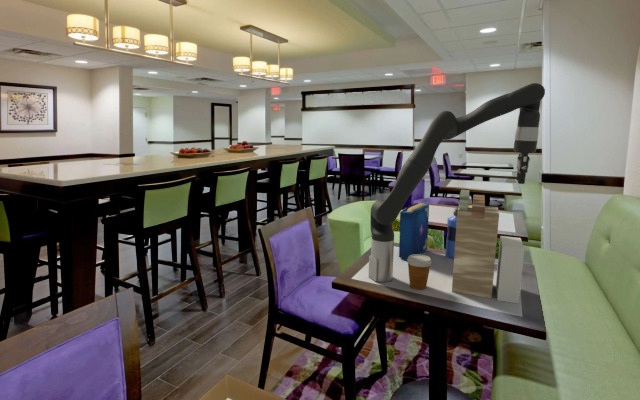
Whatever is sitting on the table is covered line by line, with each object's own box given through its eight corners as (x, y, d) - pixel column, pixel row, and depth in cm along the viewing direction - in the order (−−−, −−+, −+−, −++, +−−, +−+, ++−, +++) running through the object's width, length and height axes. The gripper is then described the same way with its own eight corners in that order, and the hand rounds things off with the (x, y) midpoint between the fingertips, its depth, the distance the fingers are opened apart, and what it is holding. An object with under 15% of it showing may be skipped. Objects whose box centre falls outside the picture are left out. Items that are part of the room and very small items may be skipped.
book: (410, 262, 175) (412, 210, 170) (396, 259, 179) (398, 208, 175) (427, 250, 192) (430, 203, 187) (414, 248, 196) (416, 202, 192)
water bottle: (441, 256, 183) (444, 207, 179) (451, 252, 190) (454, 204, 185) (459, 261, 177) (462, 210, 172) (468, 256, 183) (472, 207, 178)
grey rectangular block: (518, 303, 133) (524, 249, 129) (497, 300, 136) (502, 246, 132) (515, 287, 147) (520, 237, 143) (495, 284, 149) (500, 235, 146)
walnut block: (484, 219, 125) (484, 207, 124) (471, 218, 126) (472, 206, 125) (483, 205, 148) (484, 195, 147) (472, 204, 150) (473, 194, 149)
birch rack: (491, 298, 138) (500, 195, 130) (451, 291, 143) (458, 192, 136) (490, 284, 150) (499, 189, 143) (454, 278, 156) (460, 187, 148)
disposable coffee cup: (415, 293, 142) (417, 263, 139) (400, 284, 150) (402, 255, 148) (435, 289, 145) (437, 260, 143) (419, 280, 154) (421, 252, 152)
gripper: (539, 140, 130) (533, 185, 134) (535, 138, 143) (529, 180, 147) (515, 139, 133) (510, 184, 137) (513, 138, 146) (508, 178, 150)
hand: (520, 182), depth 142 cm, fingers open, 8 cm apart
